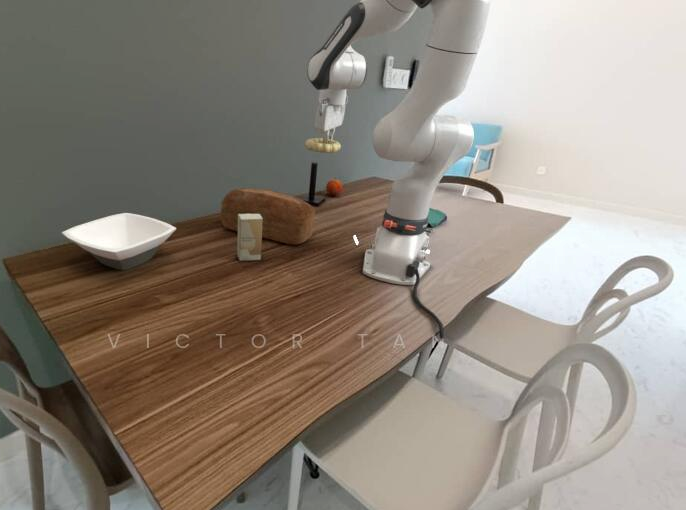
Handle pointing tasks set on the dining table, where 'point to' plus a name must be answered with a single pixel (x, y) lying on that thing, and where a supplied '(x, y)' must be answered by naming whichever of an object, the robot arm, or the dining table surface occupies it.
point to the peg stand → (313, 189)
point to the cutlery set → (435, 218)
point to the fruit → (334, 187)
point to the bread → (270, 214)
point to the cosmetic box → (249, 236)
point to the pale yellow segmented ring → (322, 145)
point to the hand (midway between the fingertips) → (327, 142)
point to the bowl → (121, 239)
